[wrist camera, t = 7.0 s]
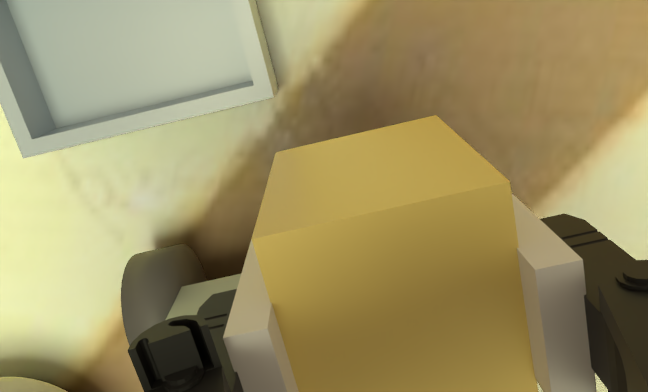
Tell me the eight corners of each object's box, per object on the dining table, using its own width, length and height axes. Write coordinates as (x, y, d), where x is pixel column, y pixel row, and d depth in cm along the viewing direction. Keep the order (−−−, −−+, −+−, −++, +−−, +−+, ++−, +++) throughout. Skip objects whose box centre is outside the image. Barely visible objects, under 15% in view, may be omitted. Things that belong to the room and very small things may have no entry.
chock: (316, 304, 17) (317, 459, 11) (275, 152, 15) (251, 239, 9) (462, 273, 16) (541, 414, 11) (435, 115, 15) (509, 181, 9)
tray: (53, 142, 27) (23, 158, 25) (-9, -14, 25) (-51, -17, 22) (278, 88, 27) (273, 97, 24) (235, -78, 24) (224, -90, 22)
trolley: (212, 413, 33) (153, 643, 21) (147, 234, 29) (31, 389, 17) (425, 369, 32) (491, 581, 20) (385, 180, 28) (436, 301, 16)
